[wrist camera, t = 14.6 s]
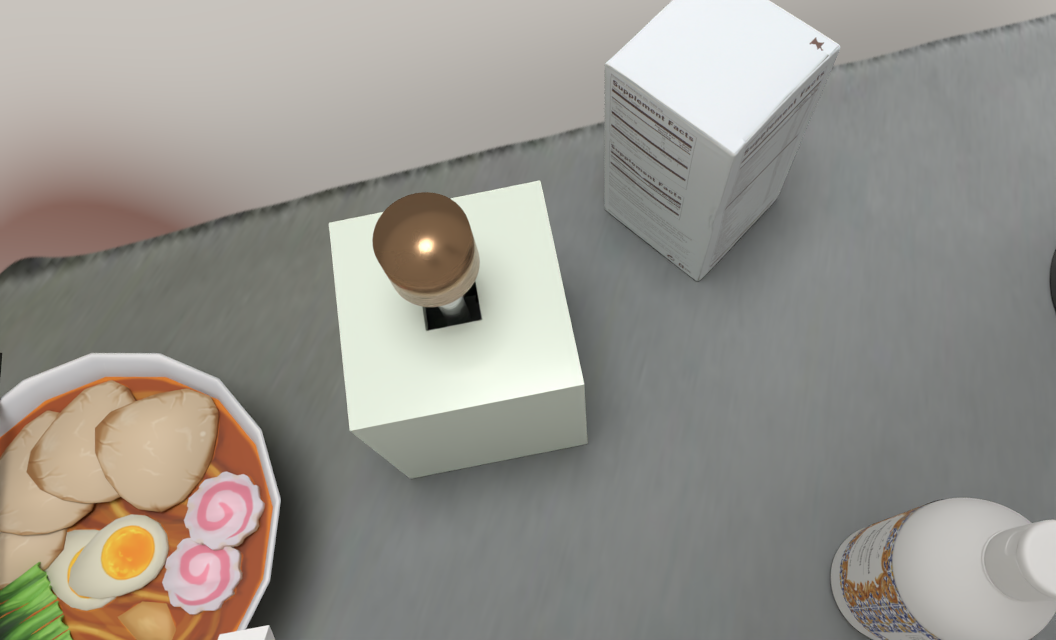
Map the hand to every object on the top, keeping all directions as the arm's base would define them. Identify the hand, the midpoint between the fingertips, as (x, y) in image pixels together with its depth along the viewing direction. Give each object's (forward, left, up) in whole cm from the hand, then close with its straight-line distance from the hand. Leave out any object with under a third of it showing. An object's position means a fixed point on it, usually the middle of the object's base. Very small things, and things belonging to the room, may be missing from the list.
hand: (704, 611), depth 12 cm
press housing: (+6, -17, -40) cm, 44 cm away
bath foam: (-16, +1, -40) cm, 43 cm away
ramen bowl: (+30, -10, -40) cm, 51 cm away
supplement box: (-11, -27, -40) cm, 50 cm away
